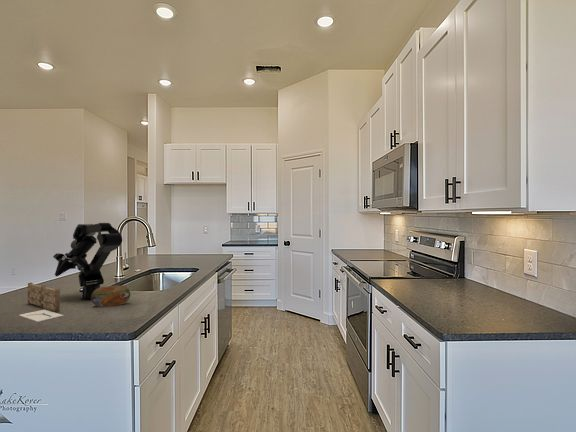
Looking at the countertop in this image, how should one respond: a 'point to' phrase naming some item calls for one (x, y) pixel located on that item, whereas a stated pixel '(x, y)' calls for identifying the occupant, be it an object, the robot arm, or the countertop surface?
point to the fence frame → (50, 298)
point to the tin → (110, 296)
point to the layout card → (40, 315)
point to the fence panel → (34, 294)
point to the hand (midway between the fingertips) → (55, 275)
